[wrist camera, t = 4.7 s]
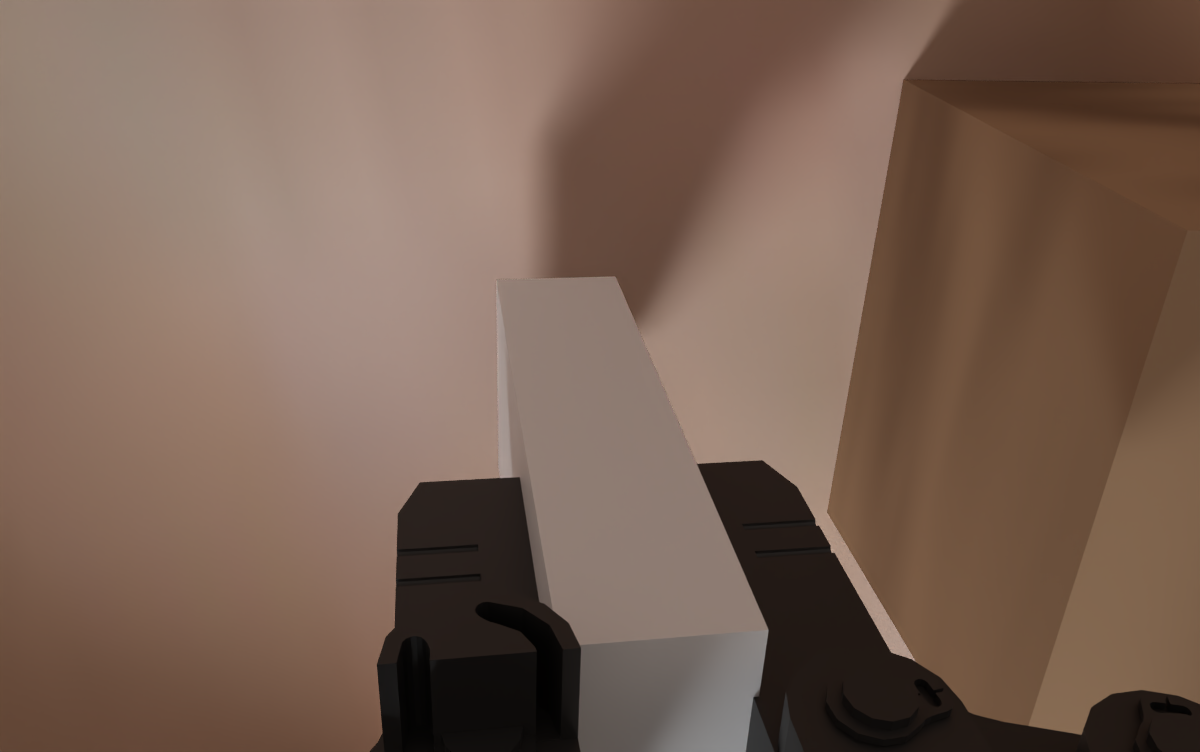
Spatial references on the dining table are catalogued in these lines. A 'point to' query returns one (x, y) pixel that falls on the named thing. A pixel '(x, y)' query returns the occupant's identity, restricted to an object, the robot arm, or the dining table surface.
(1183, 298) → the walnut block
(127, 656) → the dining table surface
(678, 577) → the robot arm
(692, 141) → the dining table surface
